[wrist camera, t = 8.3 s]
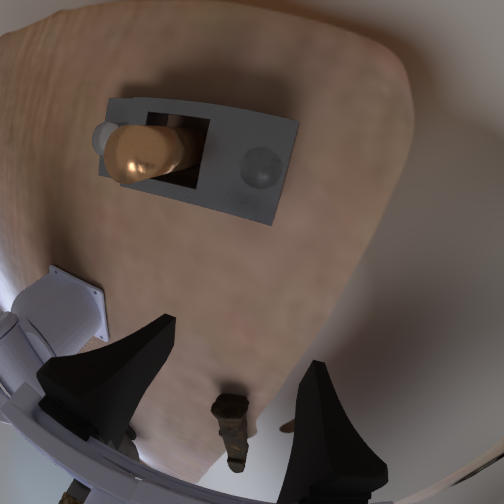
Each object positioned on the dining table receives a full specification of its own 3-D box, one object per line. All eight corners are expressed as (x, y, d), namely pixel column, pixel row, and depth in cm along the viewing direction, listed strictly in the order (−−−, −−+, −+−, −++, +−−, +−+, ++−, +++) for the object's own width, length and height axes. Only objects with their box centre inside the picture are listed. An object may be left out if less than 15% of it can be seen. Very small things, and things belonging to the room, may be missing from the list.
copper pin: (168, 163, 20) (101, 179, 12) (175, 126, 18) (107, 123, 11) (204, 170, 19) (146, 189, 12) (211, 131, 18) (155, 127, 11)
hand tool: (217, 388, 29) (205, 418, 25) (250, 394, 28) (242, 425, 24) (227, 450, 36) (220, 472, 32) (250, 455, 36) (244, 477, 31)
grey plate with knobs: (109, 172, 21) (86, 178, 18) (120, 99, 18) (97, 96, 15) (276, 213, 20) (271, 225, 17) (300, 125, 17) (299, 121, 14)
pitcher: (128, 413, 37) (56, 536, 10) (159, 457, 44) (113, 553, 17) (86, 396, 39) (14, 498, 12) (121, 442, 47) (72, 528, 19)
